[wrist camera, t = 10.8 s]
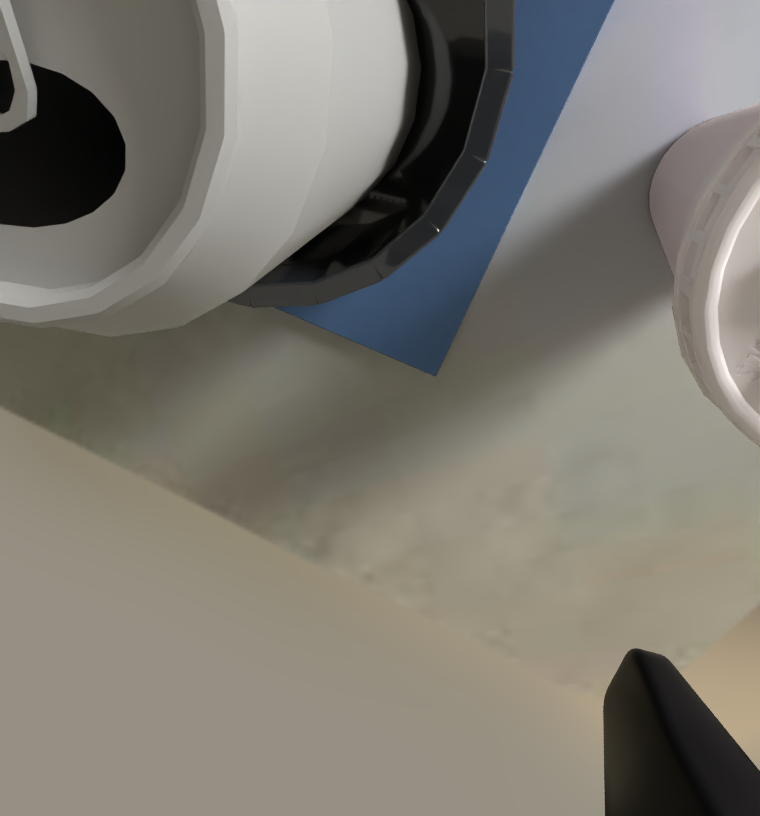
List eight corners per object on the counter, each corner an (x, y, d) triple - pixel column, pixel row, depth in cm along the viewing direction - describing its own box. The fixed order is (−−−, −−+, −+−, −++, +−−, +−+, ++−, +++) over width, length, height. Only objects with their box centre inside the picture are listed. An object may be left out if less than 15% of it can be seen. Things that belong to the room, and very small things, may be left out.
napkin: (38, 204, 20) (34, 205, 20) (103, -407, 14) (98, -414, 14) (435, 374, 21) (435, 376, 21) (683, -147, 14) (685, -151, 14)
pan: (62, 133, 19) (-52, 144, 15) (201, -330, 14) (85, -494, 10) (372, 330, 20) (341, 388, 16) (605, -32, 15) (642, -76, 11)
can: (181, 220, 19) (-202, 374, 9) (129, -83, 16) (-583, -423, 6) (426, 217, 18) (322, 391, 8) (423, -112, 15) (233, -624, 4)
